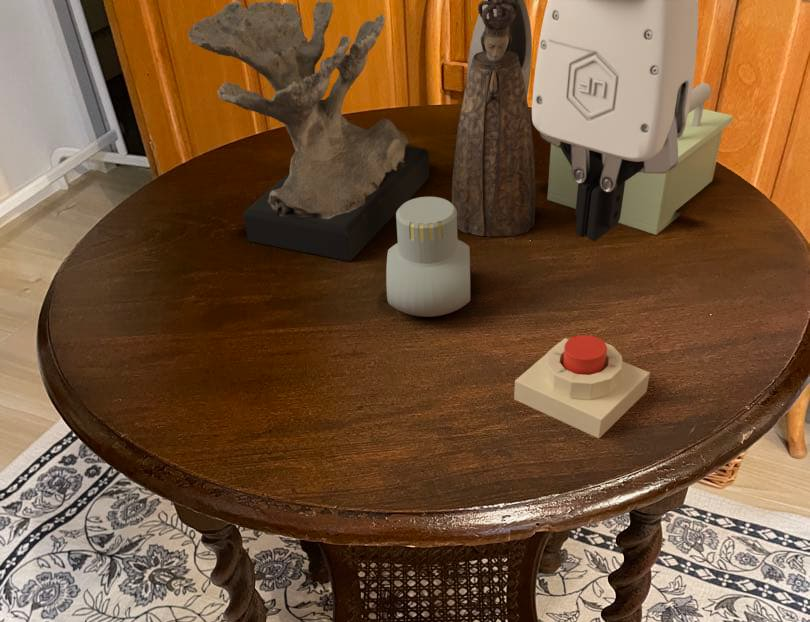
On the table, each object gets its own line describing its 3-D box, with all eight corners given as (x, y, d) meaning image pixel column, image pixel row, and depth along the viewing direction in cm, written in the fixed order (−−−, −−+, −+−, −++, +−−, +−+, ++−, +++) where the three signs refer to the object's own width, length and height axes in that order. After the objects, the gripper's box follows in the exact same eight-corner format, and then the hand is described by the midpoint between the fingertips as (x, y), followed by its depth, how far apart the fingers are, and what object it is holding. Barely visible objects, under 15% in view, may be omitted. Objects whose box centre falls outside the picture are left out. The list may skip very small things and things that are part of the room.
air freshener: (393, 274, 94) (386, 184, 86) (469, 271, 93) (468, 181, 86) (388, 332, 87) (380, 240, 79) (470, 330, 86) (470, 237, 79)
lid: (731, 122, 96) (741, 74, 92) (674, 166, 90) (683, 116, 86) (611, 94, 103) (616, 49, 99) (551, 133, 97) (554, 86, 93)
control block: (646, 392, 78) (653, 355, 75) (598, 439, 74) (603, 402, 71) (563, 356, 82) (566, 321, 79) (513, 399, 78) (515, 363, 75)
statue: (474, 249, 96) (474, -4, 78) (444, 220, 101) (438, -26, 82) (542, 229, 98) (557, -23, 80) (509, 201, 103) (517, -42, 84)
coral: (334, 279, 94) (304, 68, 78) (186, 244, 101) (131, 44, 85) (435, 178, 108) (428, -17, 92) (299, 154, 115) (271, -32, 99)
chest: (710, 190, 102) (724, 122, 96) (656, 235, 96) (667, 166, 90) (604, 159, 109) (611, 95, 103) (547, 199, 103) (551, 133, 97)
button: (612, 360, 76) (615, 344, 74) (590, 381, 74) (592, 364, 73) (577, 346, 77) (579, 329, 76) (554, 366, 76) (556, 349, 74)
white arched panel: (511, 186, 106) (516, 15, 92) (454, 182, 107) (451, 14, 93) (537, 122, 117) (545, -38, 103) (486, 119, 119) (487, -39, 105)
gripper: (494, -51, 54) (488, 223, 68) (713, -14, 47) (657, 283, 61) (561, -79, 58) (542, 186, 72) (774, -48, 51) (708, 239, 65)
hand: (595, 230), depth 66 cm, fingers closed
